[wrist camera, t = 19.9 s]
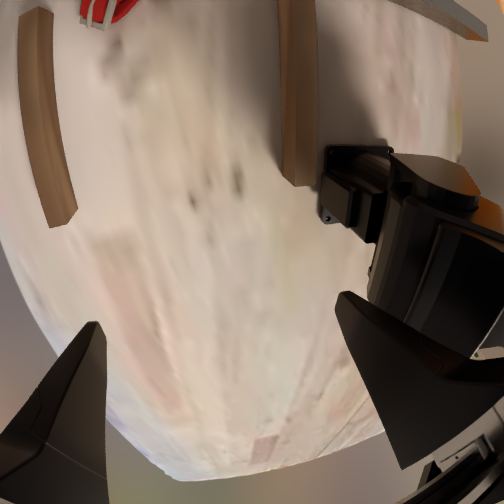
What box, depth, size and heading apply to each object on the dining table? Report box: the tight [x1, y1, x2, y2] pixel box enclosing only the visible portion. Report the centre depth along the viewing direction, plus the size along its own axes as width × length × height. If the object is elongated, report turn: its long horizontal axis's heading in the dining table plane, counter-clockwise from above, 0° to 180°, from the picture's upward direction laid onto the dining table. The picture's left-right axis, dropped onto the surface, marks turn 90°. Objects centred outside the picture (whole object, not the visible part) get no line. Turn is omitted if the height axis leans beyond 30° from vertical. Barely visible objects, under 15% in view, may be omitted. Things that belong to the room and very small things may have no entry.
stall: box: [18, 0, 318, 228], centre depth 13 cm, size 18×15×2 cm
